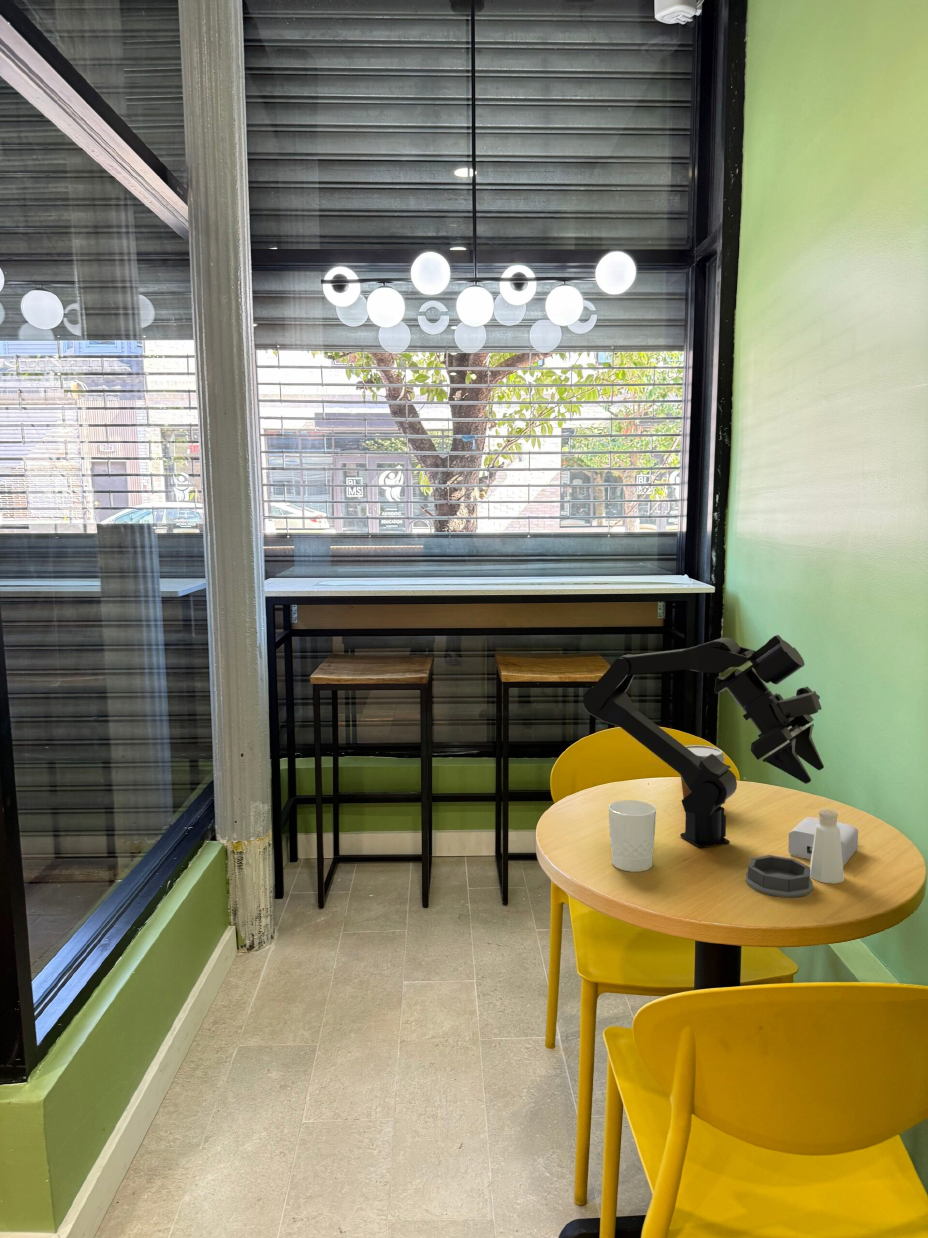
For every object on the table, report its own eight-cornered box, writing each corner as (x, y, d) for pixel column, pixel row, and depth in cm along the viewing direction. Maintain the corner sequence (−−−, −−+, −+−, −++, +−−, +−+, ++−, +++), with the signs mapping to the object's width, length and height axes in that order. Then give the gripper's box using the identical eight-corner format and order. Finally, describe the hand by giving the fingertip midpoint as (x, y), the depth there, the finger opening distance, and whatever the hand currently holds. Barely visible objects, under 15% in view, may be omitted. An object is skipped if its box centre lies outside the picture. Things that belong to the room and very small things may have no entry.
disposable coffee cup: (692, 797, 172) (692, 742, 171) (732, 807, 165) (733, 750, 164) (667, 807, 166) (667, 750, 165) (708, 818, 159) (709, 759, 158)
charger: (865, 842, 146) (844, 868, 134) (812, 831, 152) (788, 855, 140) (866, 816, 146) (845, 841, 134) (813, 806, 151) (788, 829, 140)
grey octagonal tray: (774, 901, 122) (774, 884, 122) (732, 876, 131) (733, 859, 131) (826, 892, 125) (827, 874, 125) (783, 867, 135) (783, 851, 134)
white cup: (626, 877, 132) (626, 818, 131) (599, 860, 139) (599, 804, 138) (665, 868, 135) (665, 811, 134) (637, 852, 142) (637, 797, 141)
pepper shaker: (849, 876, 131) (851, 810, 130) (838, 887, 127) (840, 819, 126) (814, 867, 134) (816, 804, 133) (803, 878, 130) (805, 812, 129)
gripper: (778, 681, 128) (844, 763, 123) (807, 666, 143) (866, 738, 138) (724, 719, 134) (786, 799, 129) (757, 700, 149) (813, 771, 144)
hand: (815, 775), depth 135 cm, fingers open, 9 cm apart
